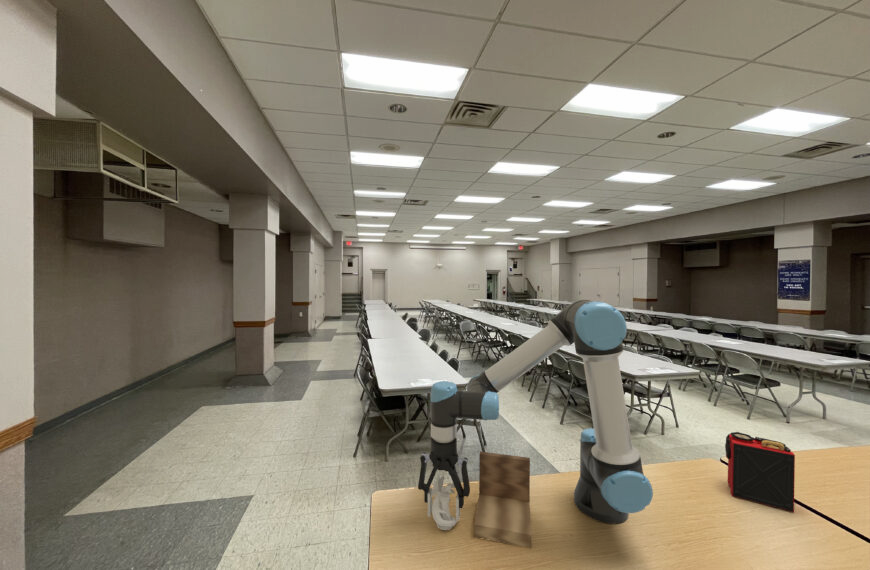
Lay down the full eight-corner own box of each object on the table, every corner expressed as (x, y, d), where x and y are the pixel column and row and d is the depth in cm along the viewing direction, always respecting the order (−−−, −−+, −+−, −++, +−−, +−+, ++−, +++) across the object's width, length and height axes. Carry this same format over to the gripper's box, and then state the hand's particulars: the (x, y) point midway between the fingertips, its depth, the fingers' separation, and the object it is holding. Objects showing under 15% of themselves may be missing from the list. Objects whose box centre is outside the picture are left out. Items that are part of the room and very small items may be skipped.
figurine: (458, 532, 91) (458, 489, 90) (430, 534, 90) (430, 490, 90) (453, 506, 101) (453, 467, 101) (428, 507, 101) (428, 468, 101)
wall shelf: (529, 510, 100) (529, 457, 100) (531, 548, 86) (532, 487, 86) (479, 502, 104) (480, 451, 104) (474, 537, 90) (474, 478, 89)
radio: (784, 496, 108) (785, 435, 108) (796, 514, 99) (798, 448, 99) (721, 480, 116) (722, 423, 116) (727, 496, 108) (728, 435, 108)
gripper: (480, 434, 97) (480, 512, 97) (413, 427, 101) (413, 501, 102) (477, 447, 89) (477, 531, 90) (405, 439, 94) (406, 518, 94)
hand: (443, 515), depth 96 cm, fingers closed on figurine, 8 cm apart
